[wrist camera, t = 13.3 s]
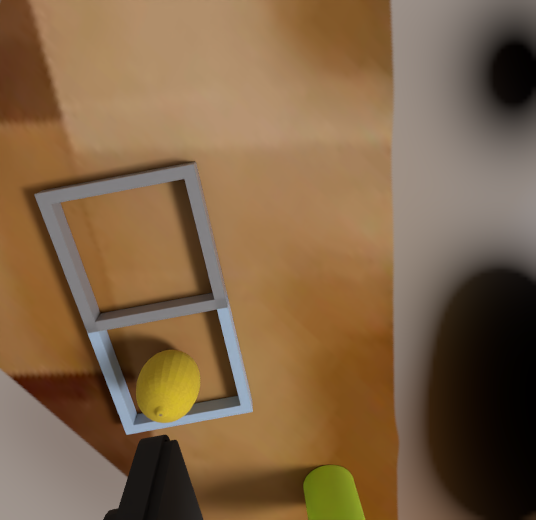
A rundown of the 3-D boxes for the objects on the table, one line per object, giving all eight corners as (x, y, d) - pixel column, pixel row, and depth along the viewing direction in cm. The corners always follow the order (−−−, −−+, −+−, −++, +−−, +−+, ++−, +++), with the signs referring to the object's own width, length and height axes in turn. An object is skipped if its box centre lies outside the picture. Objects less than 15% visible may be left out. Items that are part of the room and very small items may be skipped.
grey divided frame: (43, 190, 35) (34, 194, 33) (195, 161, 35) (193, 164, 33) (130, 423, 44) (126, 434, 42) (252, 401, 43) (252, 411, 42)
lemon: (136, 364, 41) (112, 422, 34) (167, 324, 40) (149, 374, 32) (183, 391, 42) (170, 452, 35) (214, 353, 41) (208, 408, 34)
